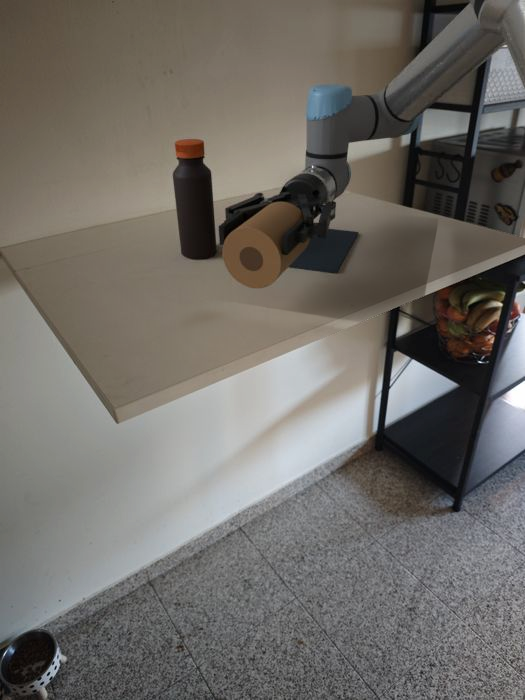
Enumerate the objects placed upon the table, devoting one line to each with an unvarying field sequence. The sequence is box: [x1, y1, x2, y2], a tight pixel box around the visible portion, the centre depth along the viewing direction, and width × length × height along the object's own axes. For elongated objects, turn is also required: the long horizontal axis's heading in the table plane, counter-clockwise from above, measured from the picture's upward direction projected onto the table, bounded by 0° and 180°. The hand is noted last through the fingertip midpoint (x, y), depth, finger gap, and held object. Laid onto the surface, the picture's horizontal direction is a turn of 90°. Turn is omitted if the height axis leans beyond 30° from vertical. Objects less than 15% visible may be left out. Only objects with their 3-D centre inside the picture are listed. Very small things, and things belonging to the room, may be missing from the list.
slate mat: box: [288, 228, 359, 275], centre depth 97 cm, size 20×20×1 cm
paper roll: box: [222, 202, 310, 289], centre depth 73 cm, size 12×9×9 cm
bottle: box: [172, 138, 218, 260], centre depth 90 cm, size 7×7×20 cm
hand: (252, 240), depth 68 cm, fingers closed on paper roll, 9 cm apart
